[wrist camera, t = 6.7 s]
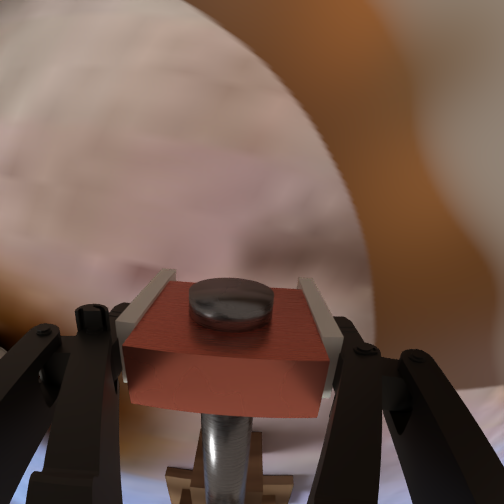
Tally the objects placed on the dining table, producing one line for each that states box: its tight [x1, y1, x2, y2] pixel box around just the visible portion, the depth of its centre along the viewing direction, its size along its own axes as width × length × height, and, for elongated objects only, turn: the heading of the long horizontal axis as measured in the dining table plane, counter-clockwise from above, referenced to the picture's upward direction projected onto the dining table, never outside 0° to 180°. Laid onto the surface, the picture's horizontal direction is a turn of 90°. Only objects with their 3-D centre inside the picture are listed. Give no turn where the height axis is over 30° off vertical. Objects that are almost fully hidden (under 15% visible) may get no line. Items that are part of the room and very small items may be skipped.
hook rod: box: [122, 278, 330, 504], centre depth 14 cm, size 19×6×7 cm, turn 176°
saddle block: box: [190, 428, 263, 504], centre depth 21 cm, size 3×5×6 cm, turn 86°
